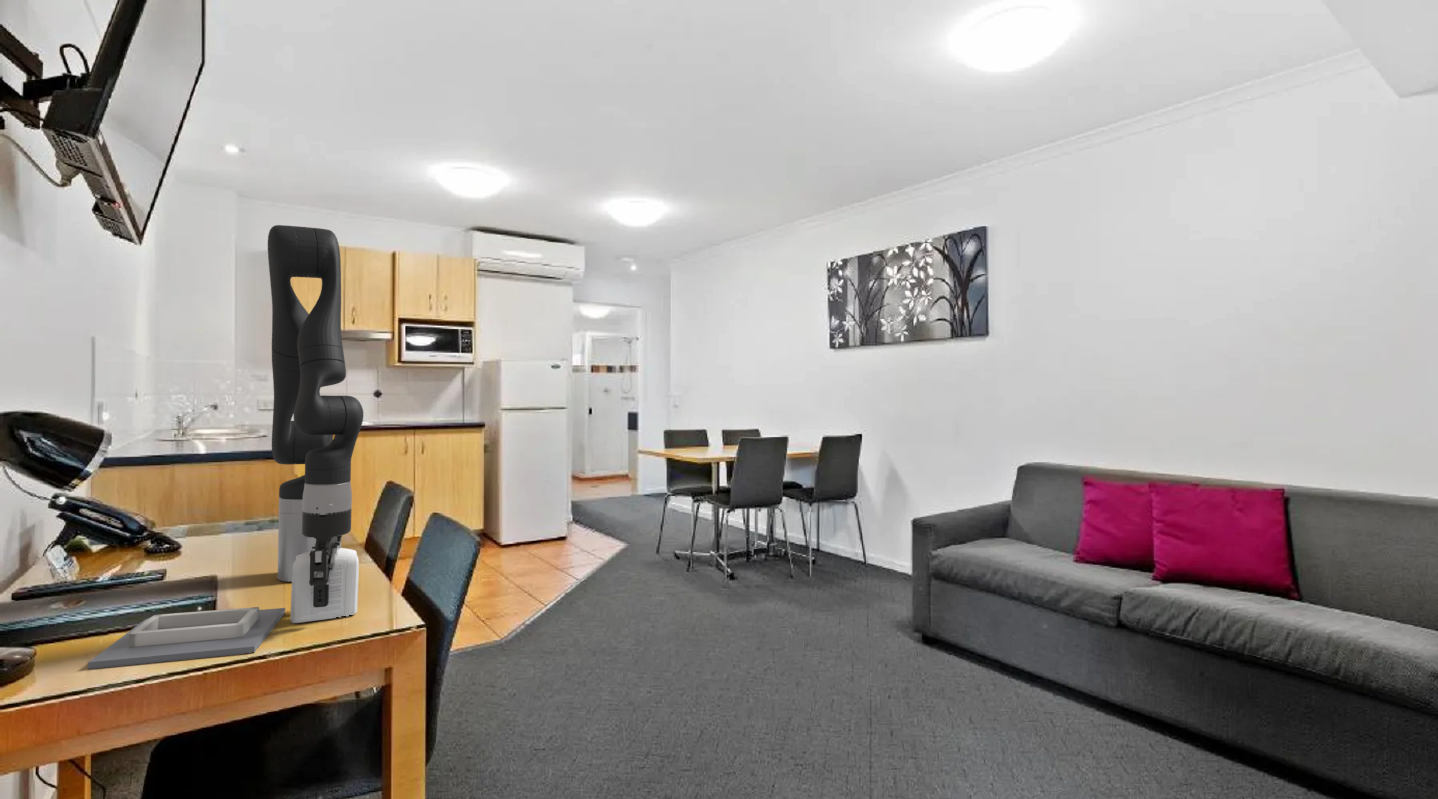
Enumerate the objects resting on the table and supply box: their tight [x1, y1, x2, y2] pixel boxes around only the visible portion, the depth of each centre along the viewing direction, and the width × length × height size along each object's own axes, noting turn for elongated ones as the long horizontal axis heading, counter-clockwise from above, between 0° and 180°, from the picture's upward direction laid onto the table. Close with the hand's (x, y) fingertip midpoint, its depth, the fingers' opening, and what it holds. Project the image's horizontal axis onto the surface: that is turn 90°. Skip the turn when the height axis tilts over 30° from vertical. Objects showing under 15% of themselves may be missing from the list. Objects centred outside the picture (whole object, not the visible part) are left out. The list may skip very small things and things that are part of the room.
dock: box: [87, 606, 286, 670], centre depth 105 cm, size 18×20×3 cm
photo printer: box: [290, 547, 360, 624], centre depth 116 cm, size 10×4×12 cm, turn 124°
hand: (325, 599), depth 116 cm, fingers open, 7 cm apart
